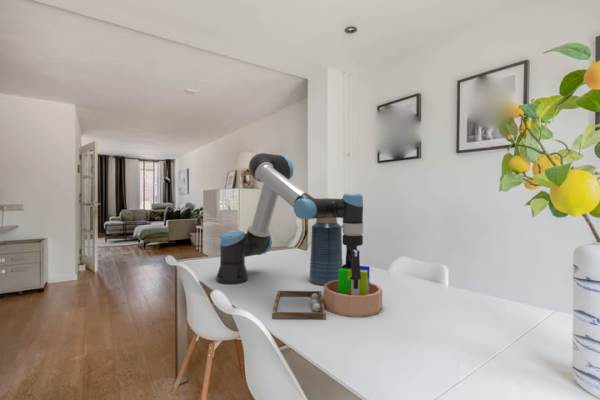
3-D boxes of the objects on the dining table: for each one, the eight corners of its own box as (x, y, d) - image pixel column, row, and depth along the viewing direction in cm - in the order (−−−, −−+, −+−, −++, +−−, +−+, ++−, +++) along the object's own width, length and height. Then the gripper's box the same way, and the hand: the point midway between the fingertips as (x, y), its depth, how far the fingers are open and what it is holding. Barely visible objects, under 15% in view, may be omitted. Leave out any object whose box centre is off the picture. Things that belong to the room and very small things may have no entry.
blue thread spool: (348, 280, 148) (348, 216, 148) (333, 288, 135) (334, 218, 135) (319, 275, 157) (319, 215, 157) (303, 282, 143) (303, 216, 143)
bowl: (322, 296, 124) (322, 279, 124) (373, 296, 124) (373, 279, 124) (326, 316, 102) (326, 296, 102) (388, 317, 102) (388, 296, 102)
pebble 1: (311, 299, 120) (311, 292, 119) (318, 299, 119) (318, 292, 119) (311, 302, 116) (311, 294, 116) (319, 302, 116) (319, 294, 116)
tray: (277, 295, 124) (277, 290, 124) (321, 295, 124) (321, 291, 124) (272, 318, 100) (272, 313, 100) (325, 319, 100) (325, 313, 100)
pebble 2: (310, 303, 113) (308, 299, 111) (317, 299, 113) (315, 296, 112) (313, 310, 111) (311, 306, 109) (320, 306, 111) (318, 302, 109)
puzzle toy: (369, 292, 116) (369, 266, 116) (366, 300, 106) (366, 272, 106) (343, 289, 119) (343, 264, 119) (338, 297, 110) (338, 270, 110)
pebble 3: (312, 309, 108) (312, 301, 108) (320, 309, 108) (320, 301, 108) (312, 313, 106) (312, 304, 105) (320, 313, 105) (320, 304, 105)
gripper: (338, 230, 125) (338, 282, 125) (347, 238, 101) (347, 302, 101) (356, 230, 125) (356, 282, 125) (369, 238, 101) (369, 302, 101)
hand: (352, 291), depth 113 cm, fingers closed on puzzle toy, 12 cm apart
